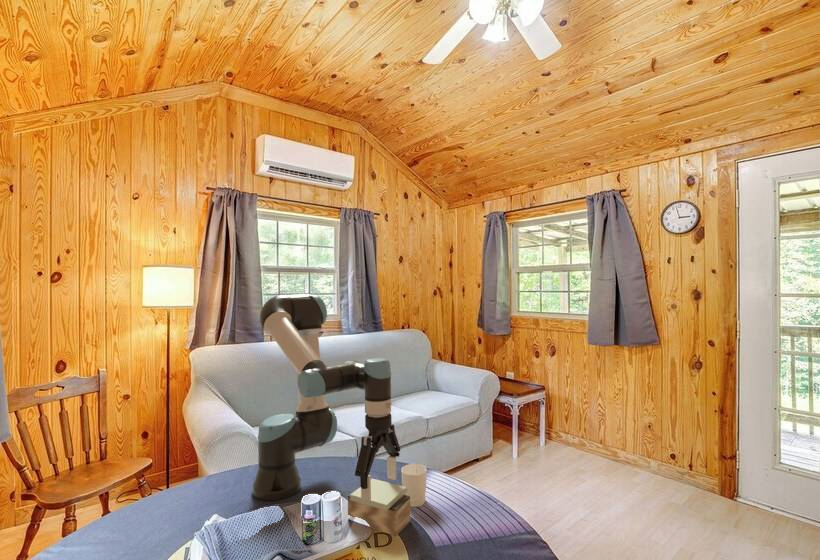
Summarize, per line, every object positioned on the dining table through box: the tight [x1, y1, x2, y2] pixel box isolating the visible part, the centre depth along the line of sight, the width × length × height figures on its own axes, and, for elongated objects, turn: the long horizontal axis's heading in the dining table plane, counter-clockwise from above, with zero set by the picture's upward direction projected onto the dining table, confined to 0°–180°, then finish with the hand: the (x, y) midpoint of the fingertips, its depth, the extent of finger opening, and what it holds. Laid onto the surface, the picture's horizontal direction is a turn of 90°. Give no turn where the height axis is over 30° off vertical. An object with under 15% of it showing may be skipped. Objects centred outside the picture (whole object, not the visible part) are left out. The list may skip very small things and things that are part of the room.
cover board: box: [349, 478, 407, 511], centre depth 118 cm, size 12×11×2 cm
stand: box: [347, 485, 411, 537], centre depth 118 cm, size 16×8×7 cm, turn 62°
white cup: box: [400, 463, 428, 508], centre depth 129 cm, size 8×8×10 cm
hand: (379, 488), depth 118 cm, fingers open, 13 cm apart
